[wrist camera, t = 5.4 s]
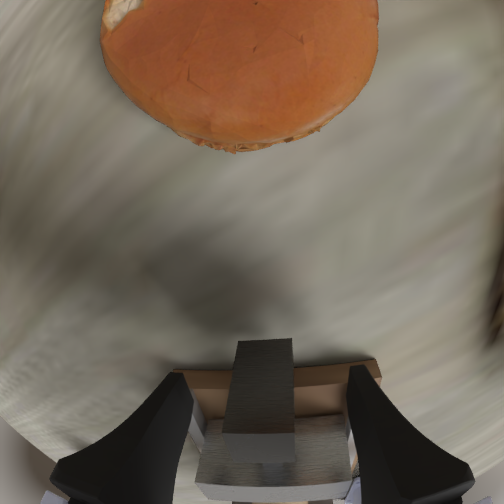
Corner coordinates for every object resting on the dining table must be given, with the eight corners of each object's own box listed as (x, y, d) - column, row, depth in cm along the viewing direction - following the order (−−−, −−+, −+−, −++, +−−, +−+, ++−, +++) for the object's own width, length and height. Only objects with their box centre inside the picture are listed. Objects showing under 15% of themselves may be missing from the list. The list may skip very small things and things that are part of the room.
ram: (338, 438, 16) (345, 502, 12) (218, 442, 17) (207, 504, 12) (353, 332, 12) (378, 422, 8) (180, 341, 13) (146, 425, 9)
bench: (348, 466, 21) (353, 515, 16) (221, 470, 23) (213, 518, 18) (376, 359, 15) (399, 436, 10) (173, 369, 17) (145, 441, 12)
